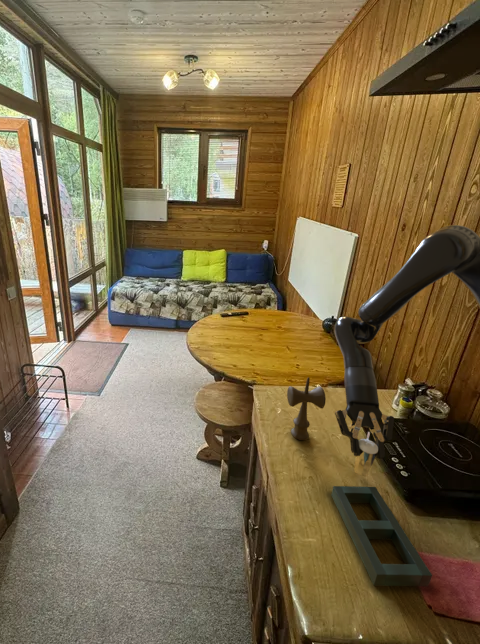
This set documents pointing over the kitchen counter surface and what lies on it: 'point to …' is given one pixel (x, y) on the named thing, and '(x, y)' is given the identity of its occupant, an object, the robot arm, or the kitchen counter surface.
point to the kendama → (304, 407)
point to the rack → (386, 528)
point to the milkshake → (365, 456)
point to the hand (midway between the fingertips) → (368, 457)
